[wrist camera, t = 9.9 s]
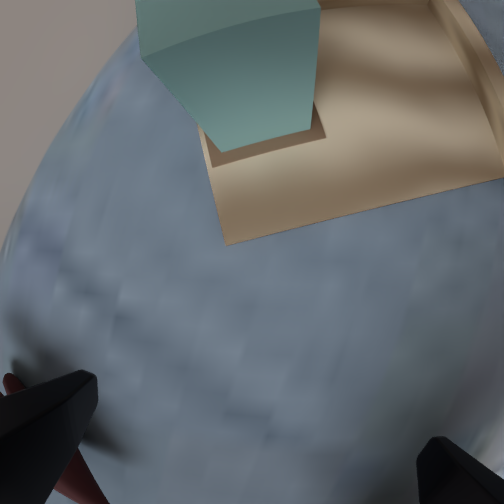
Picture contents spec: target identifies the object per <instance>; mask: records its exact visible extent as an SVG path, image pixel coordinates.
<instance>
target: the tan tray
mask: <svg viewBox="0 0 504 504" xmlns="http://www.w3.org/2000/svg"><path fill="white" fill-rule="evenodd" d="M317 1H318V3H319V5H320V7H321V14H320V29H319V42H318V55H317V66H316V78H315V88H314V99H313V109H312V118H311V127H310V129H309V130H304V131H300V132H296V133H292V134H288V135H284V136H280V137H276V138H272V139H268V140H264V141H261V142H257V143H253V144H250V145H246V146H243V147H239V148H236V149H232V150H229V151H226V152H222V153H221V151H220V150H219V149H218V148H217V146H216V145H215V144H214V143H213V142H212V140H211V139H210V138H209V137H208V136H207V134H206V133H205V132H204V131H203V130H202V128H201V127H200V126H199V125H198V124H197V126H198V130H199V135H200V139H201V144H202V148H203V152H204V157H205V161H206V165H207V170H208V174H209V178H210V182H211V187H212V191H213V195H214V199H215V203H216V208H217V212H218V216H219V220H220V224H221V228H222V232H223V236H224V240H225V245H226V246H228V245H232V244H236V243H239V242H243V241H247V240H251V239H255V238H259V237H263V236H267V235H270V234H274V233H278V232H282V231H286V230H290V229H294V228H298V227H302V226H306V225H310V224H314V223H318V222H322V221H326V220H330V219H334V218H338V217H342V216H346V215H350V214H354V213H358V212H362V211H366V210H370V209H374V208H378V207H382V206H386V205H390V204H394V203H398V202H403V201H407V200H411V199H415V198H419V197H423V196H427V195H432V194H436V193H440V192H444V191H448V190H453V189H457V188H461V187H465V186H470V185H474V184H478V183H482V182H487V181H491V180H495V179H500V178H504V76H503V74H502V72H501V70H500V68H499V66H498V64H497V63H496V61H495V59H494V57H493V55H492V53H491V51H490V50H489V48H488V46H487V44H486V43H485V41H484V39H483V38H482V36H481V34H480V33H479V31H478V29H477V28H476V26H475V25H474V23H473V22H472V20H471V18H470V17H469V15H468V14H467V12H466V11H465V10H464V8H463V7H462V5H461V4H460V2H459V1H458V0H317Z"/></svg>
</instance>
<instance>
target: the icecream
mask: <svg viewBox="0 0 504 504" xmlns="http://www.w3.org/2000/svg"><path fill="white" fill-rule="evenodd" d="M3 385H4V388H5V390H6V393H7V395H9V394H12V393H15V392H18V391H21V390H24V389H26V388H25V387H24V385H23V384H22V383H21V382H20V380H19V379H18V378H17V377H16V376H15V375H13V374H12V373H7V374H5V376H4V378H3ZM3 396H4V395H3V394H2V393H1V392H0V397H3ZM54 489H55V490H56V491H58V492H59V493H61V494H63V495H64V496H66V497H68V498H70V499H71V500H73V501H75V502H77V503H79V504H110V503H109V502H108V500H107V499H106V497H105V496H104V494H103V492H102V491H101V489H100V487H99V486H98V484H97V482H96V481H95V479H94V477H93V475H92V474H91V472H90V470H89V468H88V466H87V464H86V462H85V461H84V459H83V457H82V455H81V453H80V451H79V449H78V448H77V450H76V452H75V453H74V455H73V457H72V459H71V460H70V462H69V464H68V465H67V467H66V468H65V470H64V472H63V473H62V475H61V477H60V478H59V480H58V482H57V483H56V485H55V487H54Z"/></svg>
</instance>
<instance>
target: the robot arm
mask: <svg viewBox="0 0 504 504" xmlns="http://www.w3.org/2000/svg"><path fill="white" fill-rule="evenodd" d="M97 403H98V387H97V377H96V375H94V374H93V373H90V372H88V371H85V370H78V371H75V372H72V373H70V374H67V375H64V376H61V377H58V378H56V379H53V380H50V381H47V382H44V383H41V384H39V385H36V386H33V387H30V388H27V389H24V390H21V391H18V392H15V393H12V394H9V395H6V396H3V397H0V504H45V502H46V500H47V499H48V497H49V495H50V494H51V492H52V490H53V489H54V487H55V485H56V483H57V482H58V480H59V478H60V477H61V475H62V473H63V472H64V470H65V468H66V467H67V465H68V464H69V462H70V460H71V459H72V457H73V455H74V453H75V452H76V450H77V448H78V446H79V444H80V441H81V439H82V437H83V435H84V432H85V430H86V428H87V426H88V424H89V421H90V419H91V417H92V415H93V413H94V411H95V409H96V406H97ZM416 467H417V477H418V489H419V502H420V504H504V479H502V478H501V477H499V476H498V475H497V474H495V473H494V472H493V471H491V470H490V469H488V468H487V467H486V466H484V465H483V464H482V463H480V462H479V461H477V460H476V459H475V458H473V457H472V456H471V455H469V454H468V453H467V452H465V451H464V450H463V449H461V448H460V447H458V446H457V445H456V444H454V443H453V442H452V441H450V440H449V439H448V438H446V437H444V436H438V437H432V438H431V439H430V440H429V441H428V443H427V444H426V445H425V447H424V448H423V450H422V451H421V452H420V453H419V455H418V457H417V460H416Z"/></svg>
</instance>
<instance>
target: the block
mask: <svg viewBox="0 0 504 504" xmlns="http://www.w3.org/2000/svg"><path fill="white" fill-rule="evenodd" d="M135 4H136V14H137V26H138V36H139V45H140V54H141V59H142V60H143V61H144V62H145V63H146V64H147V66H148V67H149V68H150V69H151V70H152V71H153V72H154V74H155V75H156V76H157V77H158V78H159V79H160V80H161V82H162V83H163V84H164V85H165V86H166V87H167V88H168V90H169V91H170V92H171V93H172V94H173V95H174V97H175V98H176V99H177V100H178V101H179V102H180V104H181V105H182V106H183V107H184V108H185V109H186V111H187V112H188V113H189V114H190V115H191V117H192V118H193V119H194V120H195V121H196V122H197V124H198V125H199V126H200V127H201V128H202V130H203V131H204V132H205V133H206V134H207V136H208V137H209V138H210V139H211V140H212V142H213V143H214V144H215V145H216V146H217V148H218V149H219V150H220V151H221V153H222V152H226V151H229V150H232V149H236V148H239V147H243V146H246V145H250V144H253V143H257V142H261V141H264V140H268V139H272V138H276V137H280V136H284V135H288V134H292V133H296V132H300V131H304V130H309V129H310V127H311V118H312V109H313V99H314V88H315V78H316V66H317V55H318V42H319V29H320V14H321V7H320V5H319V3H318V1H317V0H135Z"/></svg>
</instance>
